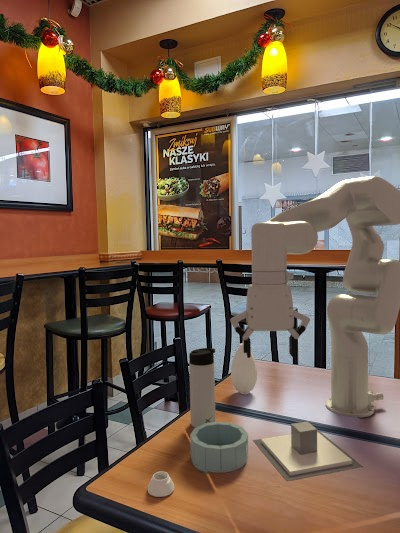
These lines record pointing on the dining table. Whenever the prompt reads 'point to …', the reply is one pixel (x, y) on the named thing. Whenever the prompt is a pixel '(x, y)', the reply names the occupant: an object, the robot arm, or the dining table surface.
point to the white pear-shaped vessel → (243, 371)
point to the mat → (308, 474)
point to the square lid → (305, 450)
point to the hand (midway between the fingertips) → (270, 355)
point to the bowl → (219, 447)
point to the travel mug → (202, 386)
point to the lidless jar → (160, 485)
